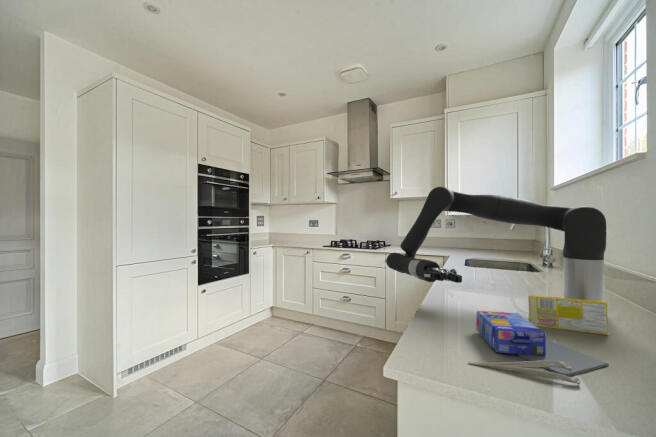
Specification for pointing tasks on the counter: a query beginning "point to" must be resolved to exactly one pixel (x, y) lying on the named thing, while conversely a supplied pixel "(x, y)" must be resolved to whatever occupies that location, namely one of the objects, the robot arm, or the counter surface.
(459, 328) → the counter surface
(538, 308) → the candy box
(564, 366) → the animal jaw bone
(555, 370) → the mat
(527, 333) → the ink cartridge box
